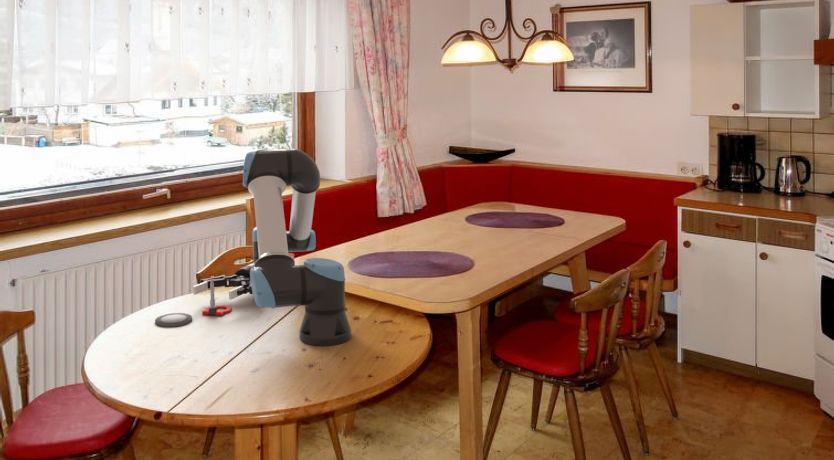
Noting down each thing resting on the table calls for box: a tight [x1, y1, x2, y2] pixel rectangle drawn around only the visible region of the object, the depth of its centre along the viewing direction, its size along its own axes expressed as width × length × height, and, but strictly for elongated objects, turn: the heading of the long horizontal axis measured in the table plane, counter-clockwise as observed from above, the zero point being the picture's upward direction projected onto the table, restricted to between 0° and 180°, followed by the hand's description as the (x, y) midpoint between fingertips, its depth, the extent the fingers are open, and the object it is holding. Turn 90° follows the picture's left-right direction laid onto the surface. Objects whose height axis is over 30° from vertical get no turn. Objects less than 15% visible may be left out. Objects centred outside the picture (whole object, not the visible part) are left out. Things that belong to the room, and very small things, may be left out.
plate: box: [154, 312, 193, 328], centre depth 231 cm, size 11×11×1 cm
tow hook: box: [201, 275, 232, 317], centre depth 240 cm, size 8×13×9 cm
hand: (211, 293), depth 237 cm, fingers open, 13 cm apart
